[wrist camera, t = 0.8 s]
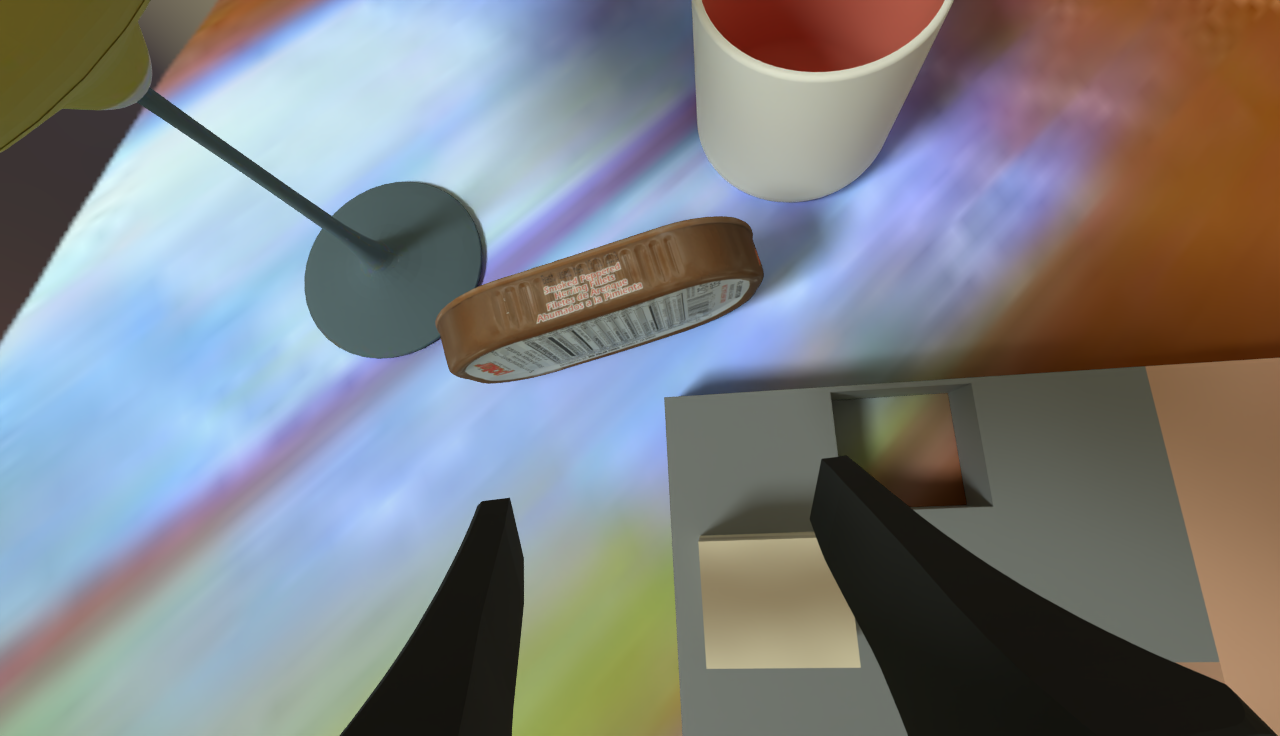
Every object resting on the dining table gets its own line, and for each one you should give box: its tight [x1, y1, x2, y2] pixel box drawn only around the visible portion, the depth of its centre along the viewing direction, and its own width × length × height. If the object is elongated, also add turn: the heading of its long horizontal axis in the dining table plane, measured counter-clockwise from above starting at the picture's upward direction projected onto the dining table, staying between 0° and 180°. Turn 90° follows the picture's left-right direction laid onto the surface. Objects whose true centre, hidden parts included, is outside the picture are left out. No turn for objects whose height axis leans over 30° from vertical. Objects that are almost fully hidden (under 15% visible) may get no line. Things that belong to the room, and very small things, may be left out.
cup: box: [692, 0, 954, 203], centre depth 26 cm, size 10×10×10 cm
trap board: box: [664, 358, 1280, 736], centre depth 23 cm, size 17×27×4 cm, turn 92°
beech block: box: [698, 532, 861, 669], centre depth 22 cm, size 4×6×3 cm
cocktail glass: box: [0, 0, 482, 359], centre depth 20 cm, size 18×18×25 cm
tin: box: [435, 216, 764, 384], centre depth 26 cm, size 15×3×8 cm, turn 106°
